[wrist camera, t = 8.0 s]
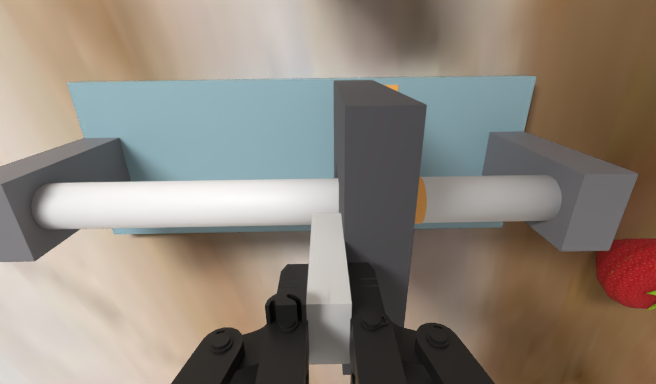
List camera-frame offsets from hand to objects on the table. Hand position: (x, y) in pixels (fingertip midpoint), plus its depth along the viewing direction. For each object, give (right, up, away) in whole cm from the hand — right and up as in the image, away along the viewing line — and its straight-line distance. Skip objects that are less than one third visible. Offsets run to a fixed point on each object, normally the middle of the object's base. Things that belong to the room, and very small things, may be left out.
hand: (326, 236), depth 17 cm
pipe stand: (-2, +6, +13) cm, 15 cm away
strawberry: (+29, -3, +18) cm, 34 cm away
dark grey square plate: (+2, +4, +11) cm, 12 cm away
